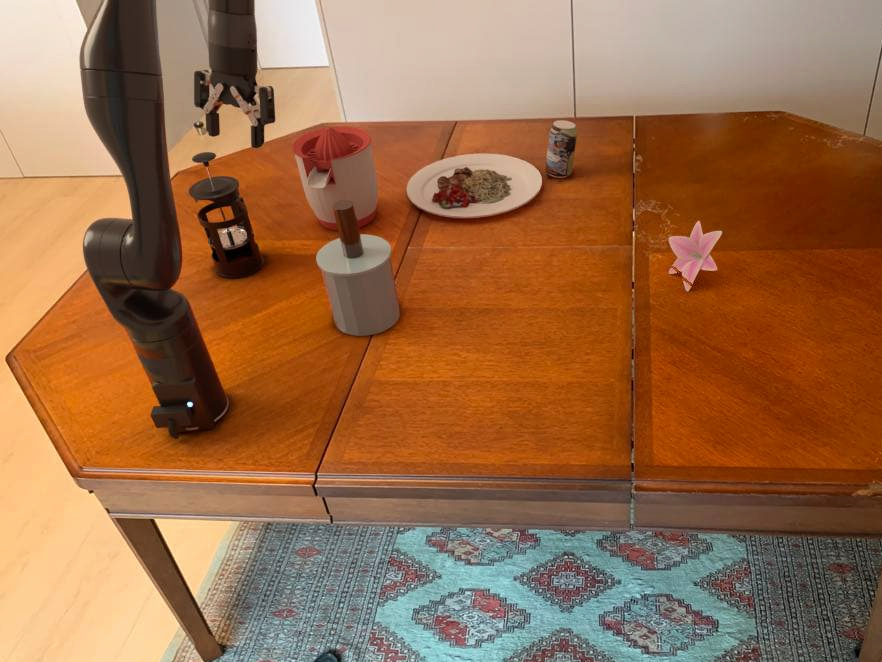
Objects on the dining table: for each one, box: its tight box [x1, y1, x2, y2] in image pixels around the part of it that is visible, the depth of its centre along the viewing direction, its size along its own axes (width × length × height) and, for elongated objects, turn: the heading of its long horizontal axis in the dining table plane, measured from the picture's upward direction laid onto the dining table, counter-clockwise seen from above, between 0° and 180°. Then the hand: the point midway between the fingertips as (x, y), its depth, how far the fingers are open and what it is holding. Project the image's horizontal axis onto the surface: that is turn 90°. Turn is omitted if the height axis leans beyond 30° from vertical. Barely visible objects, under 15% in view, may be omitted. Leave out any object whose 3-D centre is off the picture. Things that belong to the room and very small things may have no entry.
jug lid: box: [315, 200, 392, 276], centre depth 134 cm, size 13×13×10 cm
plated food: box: [406, 152, 543, 219], centre depth 178 cm, size 30×30×3 cm
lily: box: [668, 220, 723, 292], centre depth 149 cm, size 12×12×10 cm
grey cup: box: [320, 257, 401, 337], centre depth 141 cm, size 12×12×12 cm
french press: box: [188, 151, 265, 280], centre depth 152 cm, size 12×9×23 cm
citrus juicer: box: [291, 125, 379, 231], centre depth 165 cm, size 16×17×20 cm
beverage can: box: [544, 119, 578, 179], centre depth 180 cm, size 6×7×12 cm
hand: (235, 141), depth 140 cm, fingers open, 8 cm apart
